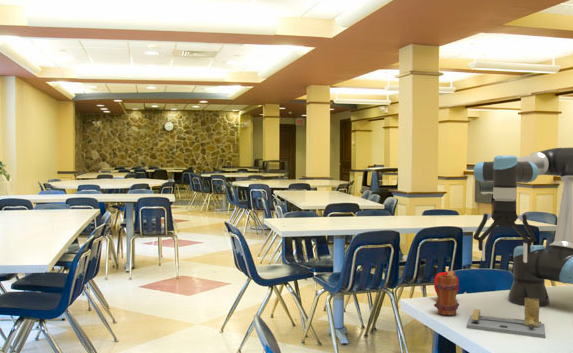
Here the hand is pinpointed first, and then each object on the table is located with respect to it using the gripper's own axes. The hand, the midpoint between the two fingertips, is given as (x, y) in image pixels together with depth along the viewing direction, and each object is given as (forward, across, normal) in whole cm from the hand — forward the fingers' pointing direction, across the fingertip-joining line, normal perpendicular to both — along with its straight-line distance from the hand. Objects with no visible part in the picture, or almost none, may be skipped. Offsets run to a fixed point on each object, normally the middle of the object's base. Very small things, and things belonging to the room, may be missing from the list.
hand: (503, 261), depth 183 cm
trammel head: (+21, -8, +5) cm, 23 cm away
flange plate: (+22, 0, +4) cm, 22 cm away
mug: (+22, +18, -12) cm, 31 cm away
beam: (+21, 0, +4) cm, 21 cm away
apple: (+22, +17, -30) cm, 41 cm away
